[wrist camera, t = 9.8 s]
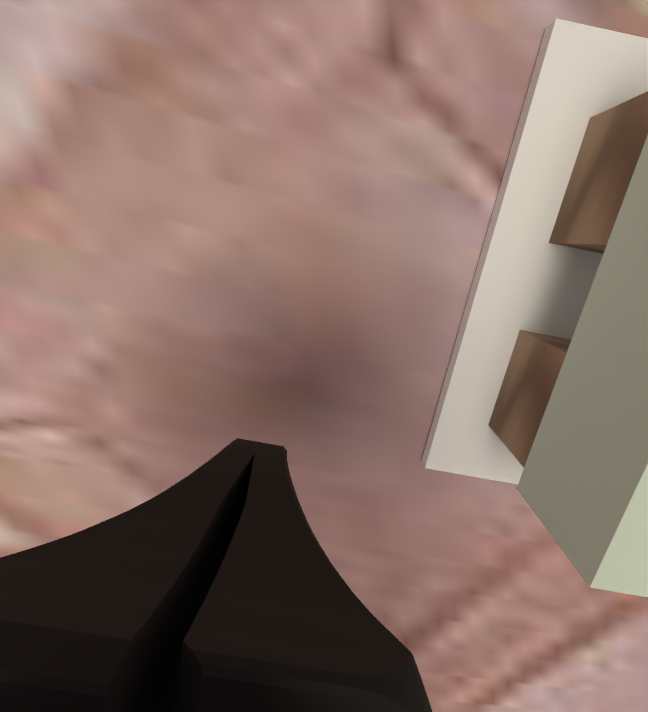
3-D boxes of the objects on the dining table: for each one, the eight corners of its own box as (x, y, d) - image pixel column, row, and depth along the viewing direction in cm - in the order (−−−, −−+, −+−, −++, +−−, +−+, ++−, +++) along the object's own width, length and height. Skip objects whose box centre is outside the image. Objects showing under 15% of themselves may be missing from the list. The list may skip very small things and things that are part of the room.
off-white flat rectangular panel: (598, 491, 22) (608, 500, 22) (421, 460, 22) (424, 468, 21) (778, 79, 17) (800, 72, 16) (545, 28, 16) (556, 18, 16)
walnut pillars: (583, 442, 21) (640, 489, 17) (488, 425, 21) (524, 468, 17) (706, 142, 17) (817, 114, 13) (589, 117, 17) (667, 82, 13)
